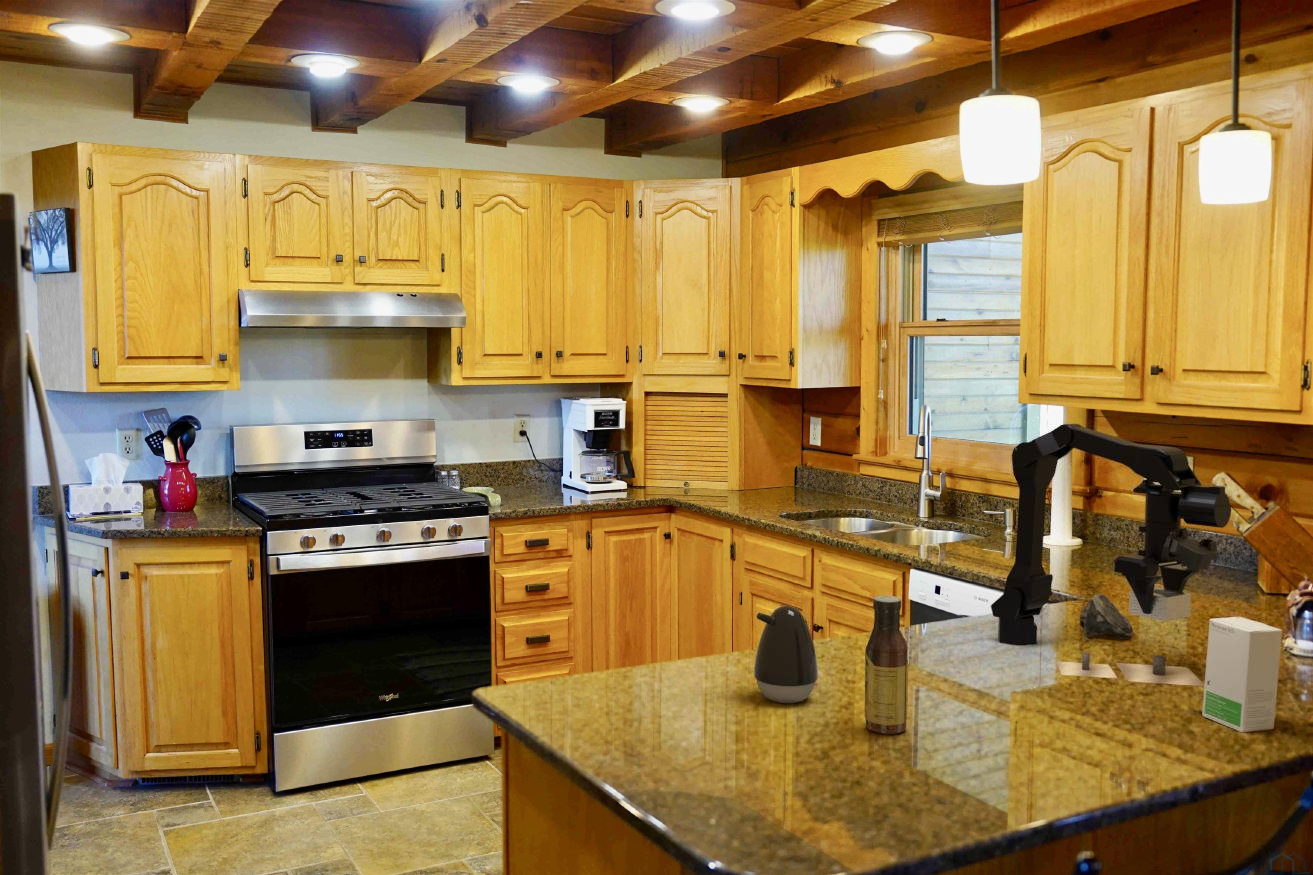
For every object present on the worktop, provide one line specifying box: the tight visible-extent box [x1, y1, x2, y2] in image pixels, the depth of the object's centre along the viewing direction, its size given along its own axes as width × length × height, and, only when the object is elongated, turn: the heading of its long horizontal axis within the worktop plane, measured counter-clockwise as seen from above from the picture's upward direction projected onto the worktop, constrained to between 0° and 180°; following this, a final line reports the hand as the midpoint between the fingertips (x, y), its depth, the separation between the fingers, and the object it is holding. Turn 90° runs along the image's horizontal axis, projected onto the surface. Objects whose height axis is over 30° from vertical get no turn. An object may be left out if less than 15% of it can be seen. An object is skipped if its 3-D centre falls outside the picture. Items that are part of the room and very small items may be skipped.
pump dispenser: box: [753, 605, 819, 704], centre depth 187 cm, size 10×10×15 cm
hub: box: [1115, 654, 1205, 687], centre depth 200 cm, size 12×12×4 cm
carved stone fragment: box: [1079, 593, 1134, 640], centre depth 233 cm, size 11×9×10 cm
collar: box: [1128, 586, 1192, 622], centre depth 199 cm, size 7×7×4 cm
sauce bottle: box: [864, 595, 909, 736], centre depth 172 cm, size 6×6×20 cm
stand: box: [1054, 652, 1118, 679], centre depth 203 cm, size 9×9×4 cm
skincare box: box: [1201, 616, 1283, 733], centre depth 177 cm, size 8×7×16 cm
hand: (1159, 611), depth 199 cm, fingers closed on collar, 7 cm apart
